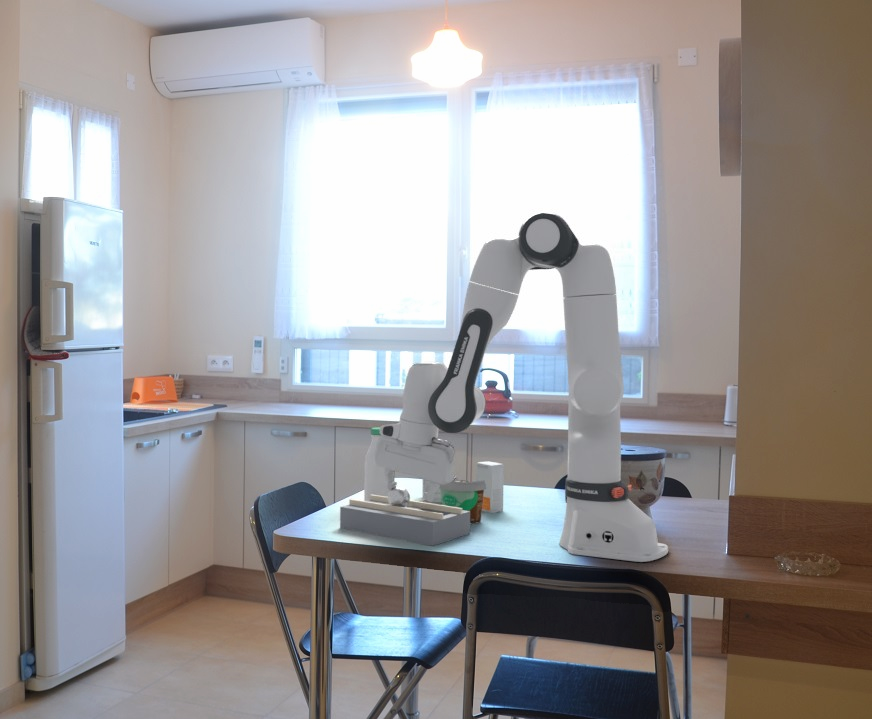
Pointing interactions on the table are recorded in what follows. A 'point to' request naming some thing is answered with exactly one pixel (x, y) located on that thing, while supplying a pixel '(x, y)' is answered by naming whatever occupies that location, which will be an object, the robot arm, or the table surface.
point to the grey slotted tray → (406, 520)
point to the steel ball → (398, 497)
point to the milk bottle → (374, 471)
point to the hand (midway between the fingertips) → (409, 495)
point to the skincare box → (491, 485)
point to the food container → (464, 497)
